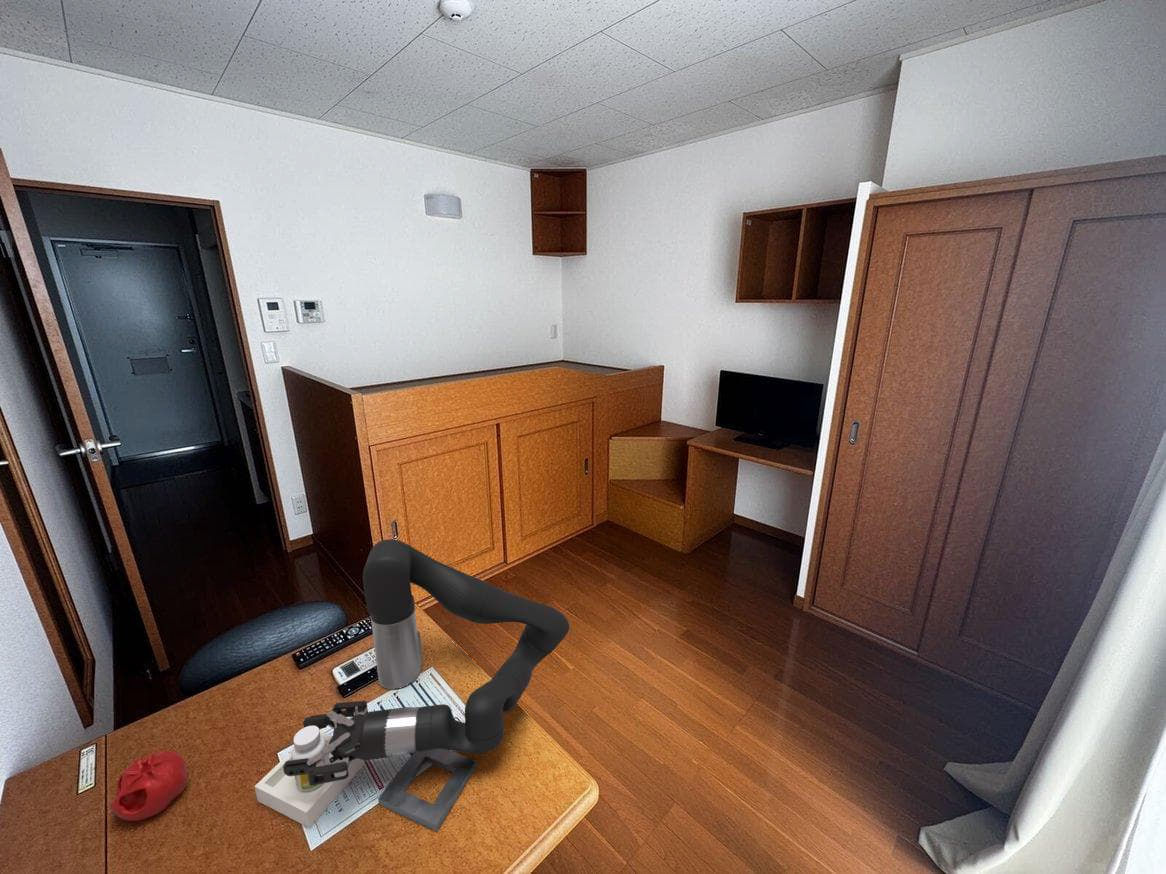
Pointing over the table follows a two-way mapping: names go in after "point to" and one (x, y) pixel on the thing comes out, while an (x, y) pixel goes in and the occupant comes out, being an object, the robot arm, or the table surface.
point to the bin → (301, 792)
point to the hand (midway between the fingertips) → (294, 745)
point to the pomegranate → (149, 785)
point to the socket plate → (420, 808)
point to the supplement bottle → (307, 752)
